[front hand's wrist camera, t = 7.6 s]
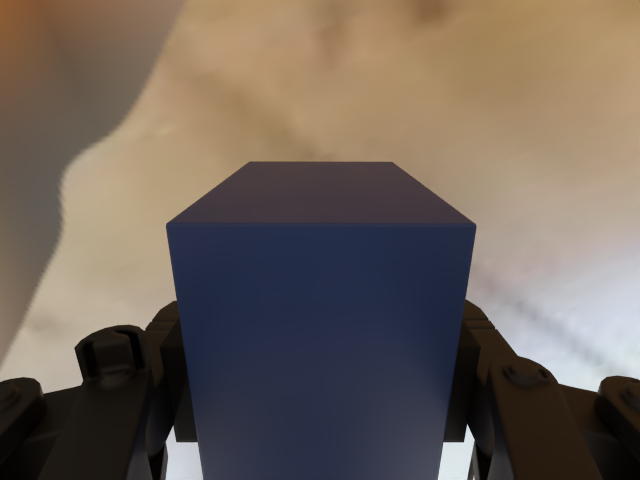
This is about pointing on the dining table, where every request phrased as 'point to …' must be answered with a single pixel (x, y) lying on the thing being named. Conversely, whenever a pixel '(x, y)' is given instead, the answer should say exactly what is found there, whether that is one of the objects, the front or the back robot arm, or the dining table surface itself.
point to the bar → (320, 321)
